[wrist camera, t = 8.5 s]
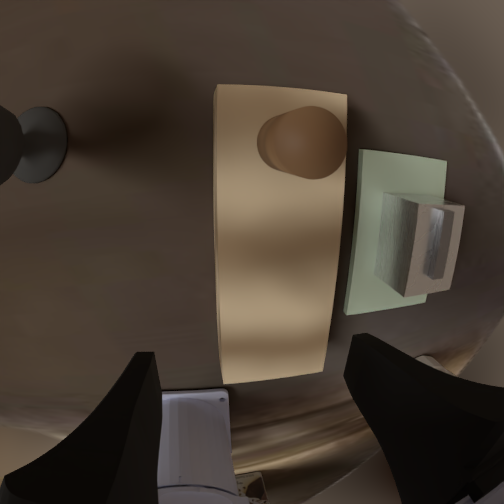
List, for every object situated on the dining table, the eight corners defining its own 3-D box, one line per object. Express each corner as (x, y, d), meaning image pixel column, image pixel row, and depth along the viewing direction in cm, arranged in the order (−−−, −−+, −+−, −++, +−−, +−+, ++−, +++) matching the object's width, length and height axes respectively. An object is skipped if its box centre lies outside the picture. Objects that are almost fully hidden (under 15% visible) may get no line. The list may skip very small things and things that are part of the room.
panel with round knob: (309, 347, 24) (344, 409, 17) (219, 357, 23) (231, 428, 16) (325, 100, 18) (387, 84, 11) (213, 94, 17) (225, 64, 10)
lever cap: (417, 269, 23) (454, 292, 18) (373, 274, 22) (409, 301, 18) (428, 194, 21) (471, 207, 16) (382, 192, 20) (425, 205, 16)
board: (421, 299, 25) (425, 302, 24) (343, 311, 23) (346, 315, 23) (441, 160, 21) (446, 161, 20) (358, 149, 19) (363, 149, 19)
